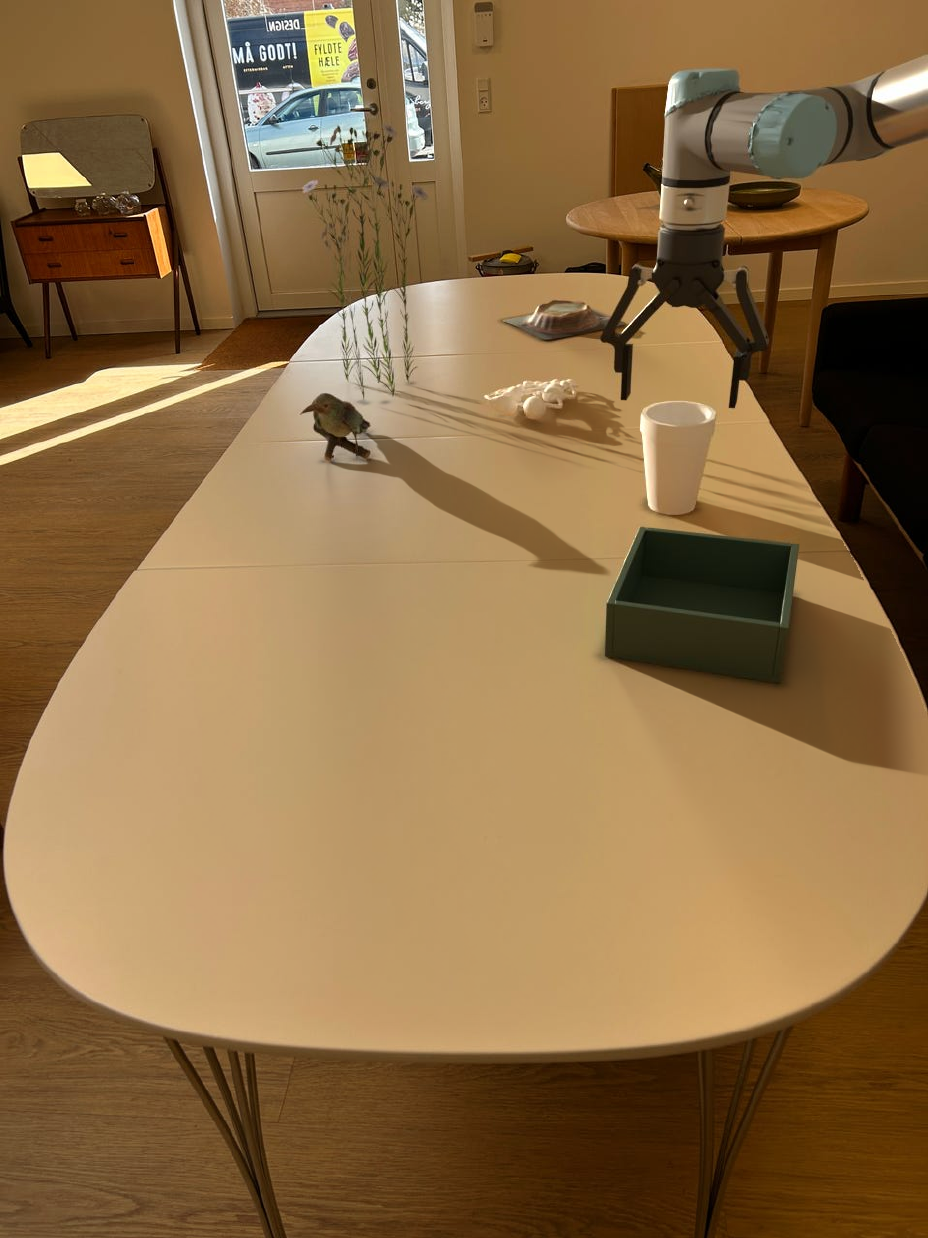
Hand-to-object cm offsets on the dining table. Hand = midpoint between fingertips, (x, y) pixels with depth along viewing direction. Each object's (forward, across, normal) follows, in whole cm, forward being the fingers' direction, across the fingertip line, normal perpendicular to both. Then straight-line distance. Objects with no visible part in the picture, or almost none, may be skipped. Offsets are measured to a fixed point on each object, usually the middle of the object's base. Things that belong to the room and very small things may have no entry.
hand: (678, 400), depth 119 cm
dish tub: (+14, +8, -29) cm, 34 cm away
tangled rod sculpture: (+15, -30, +34) cm, 47 cm away
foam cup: (+15, 0, 0) cm, 15 cm away
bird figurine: (+15, -53, +6) cm, 55 cm away
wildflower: (+15, -60, +36) cm, 71 cm away
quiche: (+15, -38, +86) cm, 95 cm away
